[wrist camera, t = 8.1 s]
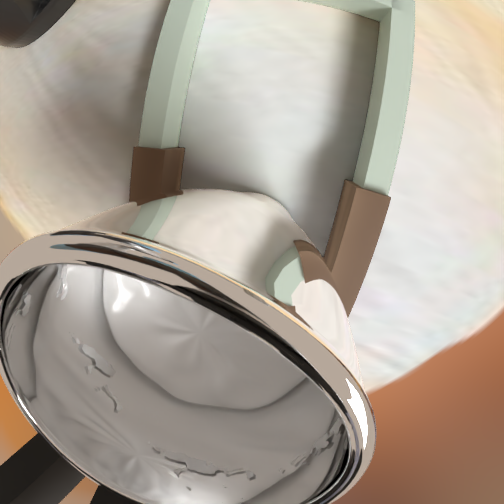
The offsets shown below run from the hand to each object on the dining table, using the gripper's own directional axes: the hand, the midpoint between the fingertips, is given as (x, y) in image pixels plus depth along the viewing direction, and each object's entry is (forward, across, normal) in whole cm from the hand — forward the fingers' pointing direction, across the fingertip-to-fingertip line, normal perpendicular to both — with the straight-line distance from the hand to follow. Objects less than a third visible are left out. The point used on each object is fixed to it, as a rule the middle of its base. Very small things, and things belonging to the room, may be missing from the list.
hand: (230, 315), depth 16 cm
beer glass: (+3, 0, +4) cm, 5 cm away
